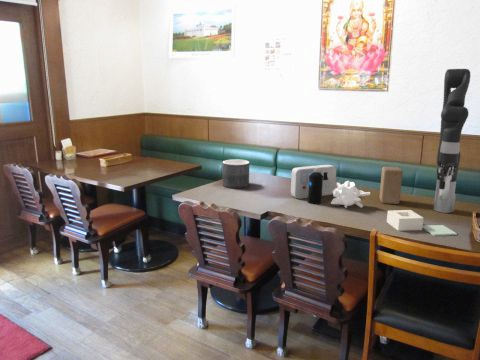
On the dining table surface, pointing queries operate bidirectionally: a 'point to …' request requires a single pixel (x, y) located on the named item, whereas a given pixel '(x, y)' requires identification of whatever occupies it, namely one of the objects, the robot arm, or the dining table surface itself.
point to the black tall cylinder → (315, 187)
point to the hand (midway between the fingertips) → (444, 188)
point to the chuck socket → (405, 220)
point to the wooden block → (390, 185)
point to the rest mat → (439, 230)
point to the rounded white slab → (302, 180)
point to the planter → (235, 173)
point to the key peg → (444, 192)
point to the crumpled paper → (347, 194)
